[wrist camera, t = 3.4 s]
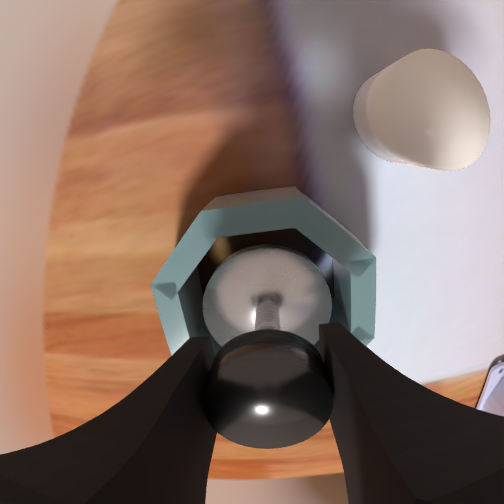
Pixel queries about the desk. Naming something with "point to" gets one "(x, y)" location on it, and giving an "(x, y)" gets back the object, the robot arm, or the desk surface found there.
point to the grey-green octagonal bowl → (260, 220)
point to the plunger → (267, 347)
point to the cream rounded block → (424, 112)
